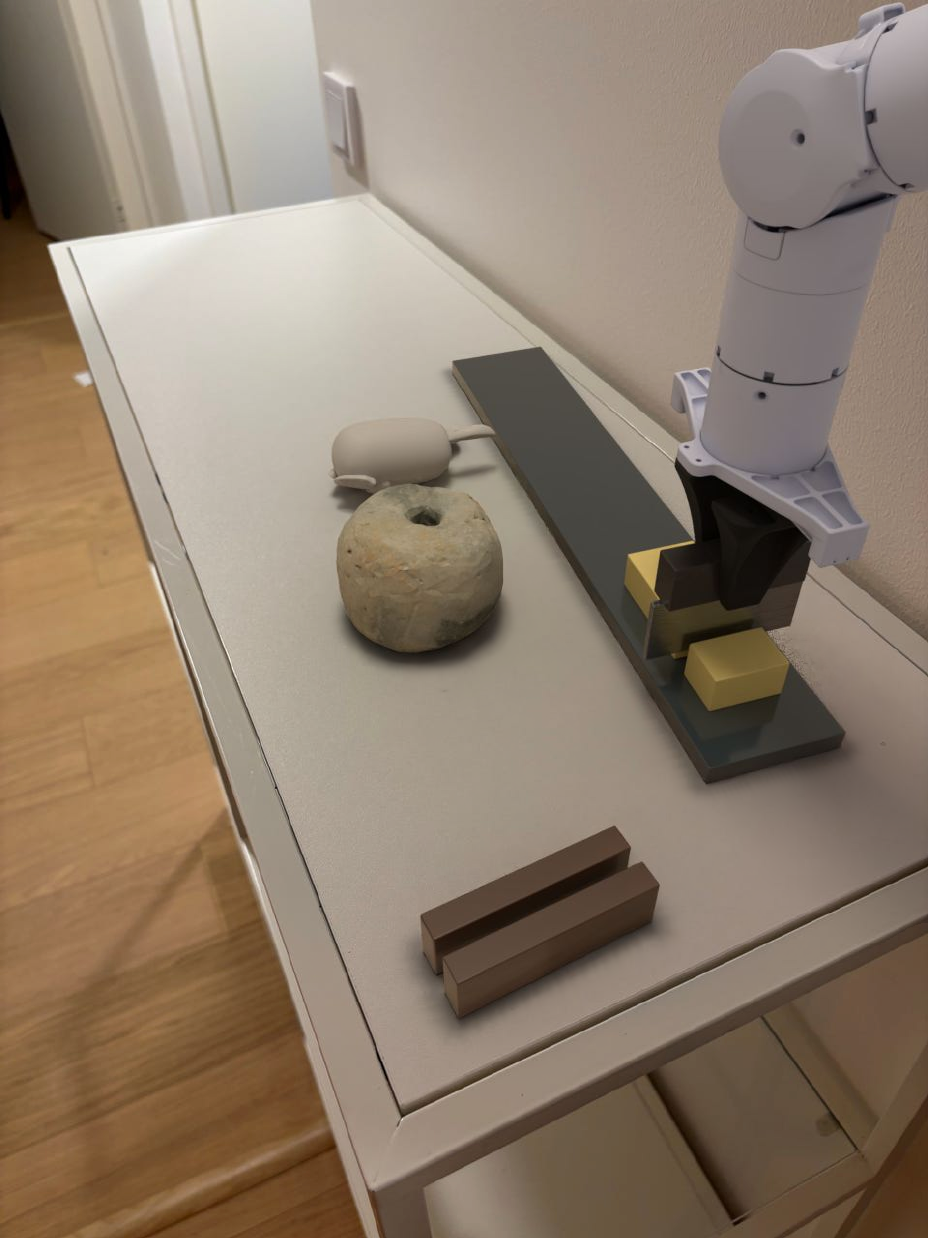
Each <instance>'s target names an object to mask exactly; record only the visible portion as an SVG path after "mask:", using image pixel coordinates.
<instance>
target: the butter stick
mask: <svg viewBox="0 0 928 1238" xmlns="http://www.w3.org/2000/svg"><path fill="white" fill-rule="evenodd" d="M694 541H695V540H694ZM694 541H689V542H684V543H680V544H675V545H670V546H666V547H661V548H656V549H651V550H647V551H642V552H637V553H633V554H628V557H627V565H626V573H625V581H624V585H625V586H626V588H627V589H628V591H629V592H630V594H631V595H632V597H633V598H634V600H635V601H636V603H637V604H638V606H639V607H640V609H641V610H642V612H643V613H644V615H645V616H646V618H647V619H648V616H649V610H650V603H651V602H652V601H656V600H660V599H659V597H658V596H657V594H656V593H655V591H654V588H655V582H656V575H657V569H658V562H659V556H660V551H661V550H664V549H668V548H673V547H678V546H683V545H687V544H692V543H695V542H694ZM688 652H689V650H686V651H682V652H678V653H674V654H671V655H672V657H673V658H674V659H677V658H681V657H685V656H688Z"/></svg>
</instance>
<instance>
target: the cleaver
mask: <svg viewBox="0 0 928 1238" xmlns="http://www.w3.org/2000/svg"><path fill="white" fill-rule="evenodd" d="M811 543H812V542H811V541H810V540H808V541H807V542H806V543H805V544H803V545H802V546H801V547H800V548H799V549H798V550H797V551H796V552H795V554H794V555H793V556H792V557H791V558H790V559H789V560H788V562H787V563H786V564H785V565H784V567H783V568H782V569H781V571H780V572H779V574H778V575H777V577H776V578H775V580H774V581H773V583H772V584H771V586H770V587H769V589H768V591H767V592H766V594H765V596H764V597H763V599H762V600H761V602H760V603H759V604H757V605H753V606H748V607H744V608H740V609H735V610H731V611H727V610H725V608H724V607H723V606H722V605H721V603H720V597H719V580H720V571H721V561H722V549H721V538H716V539H711V540H706V541H701V542H697V543H692V544H687V545H683V546H678V547H673V548H668V549H664V550H661V551H660V556H659V562H658V569H657V575H656V582H655V588H654V591H655V593H656V594H657V596H658V597H659V599H660V600H656V601H652V602H651V603H650V610H649V616H648V623H647V629H646V636H645V643H644V649H643V657H644V659H645V660H648V659H653V658H657V657H661V656H665V655H669V654H674V653H678V652H682V651H686V650H689V647H690V644H692V643H696V642H700V641H704V640H709V639H713V638H717V637H721V636H726V635H730V634H734V633H738V632H743V631H747V630H751V629H755V628H760V627H762V628H763V630H764V631H765V632H767V633H768V632H770V631H771V632H772V631H775V630H779V629H784V628H788V627H791V625H792V622H793V618H794V614H795V611H796V608H797V604H798V600H799V597H800V594H801V590H802V587H803V584H804V582H805V581H806V578H807V574H808V571H809V567H810V563H811V561H812V559H811V558H810V557H809V555H808V554H809V550H810V547H811Z"/></svg>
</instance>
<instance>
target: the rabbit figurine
mask: <svg viewBox="0 0 928 1238" xmlns="http://www.w3.org/2000/svg"><path fill="white" fill-rule="evenodd" d="M495 435H496V434H495V432H494V430H493V429H492V428H490V427H489V426H486V425H484V424H482V423H481V424H479V423H478V424H472V425H468V426H465V427H462V428H459V429H458V430H457V429H455V428H447V429H445V427H444V426H443V425H442V424H441V423H439V422H437V421H435V420H432V419H428V418H423V417H422V418H421V417H394V418H382V419H381V418H380V419H373V420H372V419H371V420H366V421H365V420H364V421H361V422H356V423H353V424H350V425H347V426H346V427H344V428H343V429H341V430H340V431H339V432H338V434H337V435H336V437H335V438H334V440H333V443H332V444H331V445H332V446H331V463H332V466H333V468H331V469H330V470H329V471H328V475H329V477H330V478H332V479H333V483H334V484H335V485H338V486H341V487H347V488H354V489H360V490H366V492H367V493H368V494H371V495H374V494H375V493H377V492H379V491H381V490H383V489H386V488H388V487H392V486H397V485H404V484H421V483H426V482H429V481H432V480H435V479H436V478H439V477H440V476H441V475H442V474H444V472H445V471H446V470H447V468H448V467H449V465H450V463H451V459H452V453H453V452H452V451H453V449H452V445H453V444H456V443H459V442H465V441H472V440H473V441H474V440H477V439H478V440H479V439H486V438H492V437H493V436H495Z"/></svg>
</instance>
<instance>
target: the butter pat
mask: <svg viewBox="0 0 928 1238" xmlns="http://www.w3.org/2000/svg"><path fill="white" fill-rule="evenodd" d="M767 633H768V632H767ZM767 633H766V632H765V631H764V630H763V628H762V627H760V628H755V629H751V630H747V631H743V632H738V633H734V634H730V635H726V636H721V637H717V638H713V639H709V640H704V641H700V642H696V643H692V644H690V647H689V652H688V657H687V662H686V667H685V672H684V675H685V676H686V678H687V679H688V681H689V682H690V684H691V685H692V687H693V688H694V690H695V691H696V693H697V694H698V696H699V697H700V699H701V700H702V702H703V703H704V705H705V706H706V708H707V709H708V711H713V710H717V709H721V708H725V707H729V706H733V705H737V704H741V703H745V702H749V701H753V700H757V699H761V698H764V697H768V696H772V695H776V694H780V693H781V691H782V687H783V684H784V681H785V677H786V674H787V671H788V667H789V664H790V663H789V661H790V660H789V659H788V658H787V659H788V660H789V661H788V660H787V659H786V658H785V656H786V655H785V654H784V653H783V654H784V655H785V656H784V655H783V654H782V652H783V651H782V650H781V649H780V650H781V651H782V652H781V651H780V650H779V649H778V647H779V646H778V645H777V644H776V645H777V646H778V647H777V646H776V645H775V644H774V642H775V641H774V640H773V639H772V640H773V641H774V642H773V641H772V640H771V639H770V637H771V636H770V635H769V634H768V635H769V636H770V637H769V636H768V635H767Z"/></svg>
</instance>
